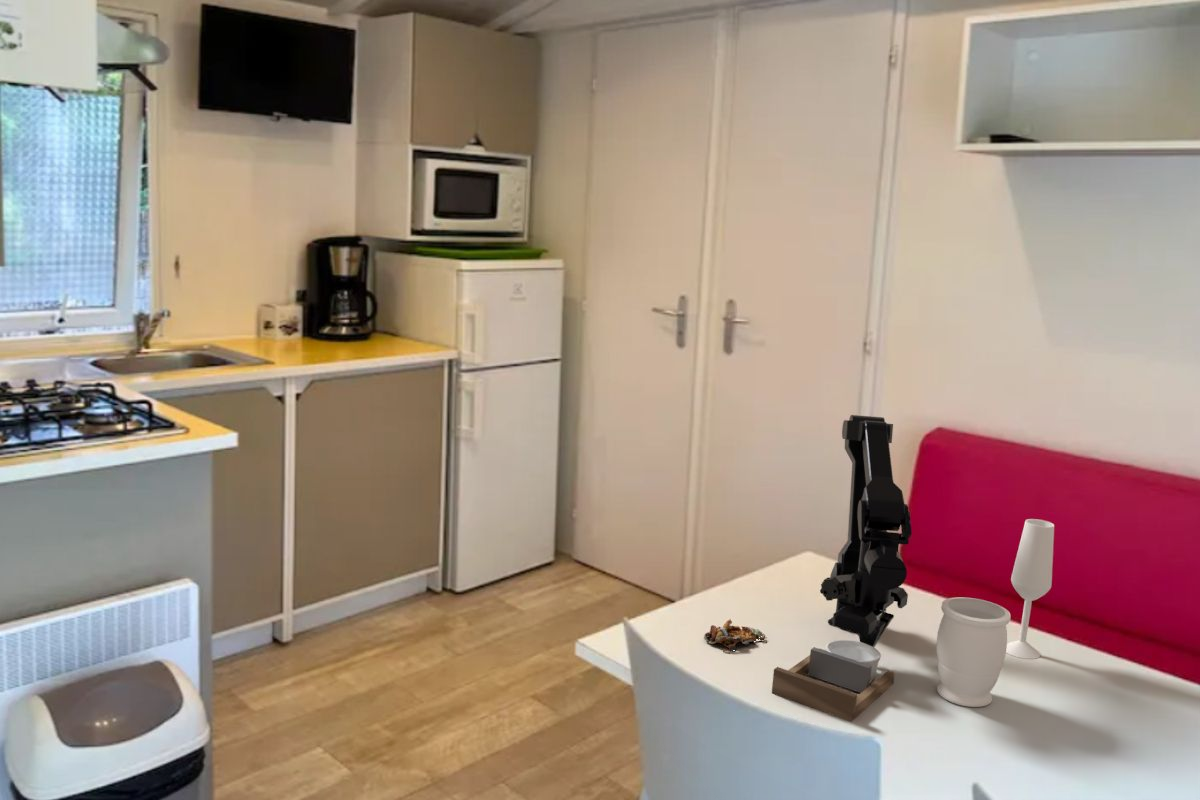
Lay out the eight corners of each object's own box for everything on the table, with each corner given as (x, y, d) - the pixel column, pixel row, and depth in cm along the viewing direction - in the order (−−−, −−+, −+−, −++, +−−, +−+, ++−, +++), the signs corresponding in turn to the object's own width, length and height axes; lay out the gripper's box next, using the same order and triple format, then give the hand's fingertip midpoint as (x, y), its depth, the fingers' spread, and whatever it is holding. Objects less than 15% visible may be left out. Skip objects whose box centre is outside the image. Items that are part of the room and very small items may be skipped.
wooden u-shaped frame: (818, 659, 179) (820, 637, 178) (893, 683, 171) (896, 661, 170) (771, 692, 165) (773, 669, 164) (851, 721, 157) (854, 696, 157)
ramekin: (819, 661, 178) (821, 637, 177) (871, 664, 178) (873, 641, 177) (829, 684, 169) (831, 659, 169) (883, 688, 169) (886, 663, 168)
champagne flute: (1021, 660, 184) (1040, 530, 179) (992, 645, 190) (1010, 518, 185) (1049, 656, 186) (1069, 527, 182) (1020, 641, 192) (1038, 516, 188)
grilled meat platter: (772, 641, 186) (774, 622, 185) (727, 656, 178) (729, 637, 178) (743, 628, 191) (744, 609, 191) (698, 642, 184) (699, 623, 183)
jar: (964, 716, 161) (977, 625, 159) (916, 687, 170) (927, 600, 168) (1012, 705, 166) (1026, 616, 164) (963, 677, 175) (975, 593, 173)
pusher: (812, 672, 173) (814, 646, 172) (869, 691, 167) (872, 665, 166) (808, 674, 172) (810, 649, 171) (865, 694, 166) (868, 668, 165)
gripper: (852, 543, 187) (843, 624, 190) (807, 569, 172) (799, 657, 175) (913, 558, 181) (903, 642, 184) (872, 587, 166) (862, 678, 169)
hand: (866, 654), depth 178 cm, fingers closed
